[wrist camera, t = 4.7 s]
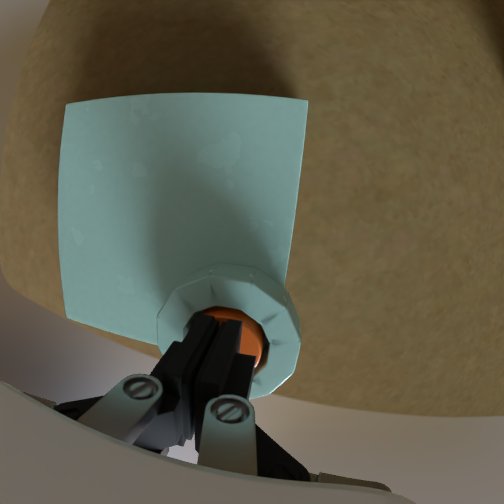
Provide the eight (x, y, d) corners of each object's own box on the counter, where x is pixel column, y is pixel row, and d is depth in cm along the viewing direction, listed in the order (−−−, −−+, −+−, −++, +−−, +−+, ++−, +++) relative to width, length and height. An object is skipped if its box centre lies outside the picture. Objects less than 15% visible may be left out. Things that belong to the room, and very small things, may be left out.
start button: (269, 304, 13) (265, 323, 11) (260, 361, 13) (256, 384, 12) (200, 292, 13) (187, 309, 11) (198, 350, 14) (186, 370, 12)
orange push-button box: (322, 121, 14) (338, 91, 9) (289, 342, 18) (285, 409, 12) (108, 113, 16) (43, 98, 10) (103, 305, 19) (50, 345, 13)
